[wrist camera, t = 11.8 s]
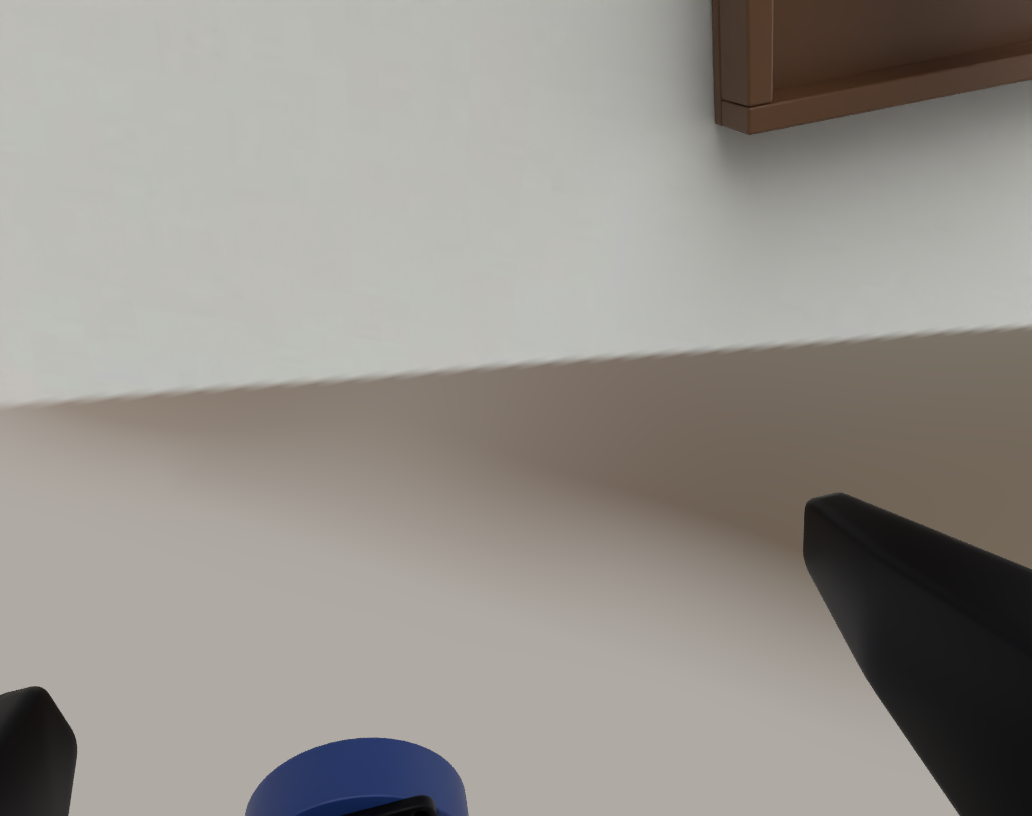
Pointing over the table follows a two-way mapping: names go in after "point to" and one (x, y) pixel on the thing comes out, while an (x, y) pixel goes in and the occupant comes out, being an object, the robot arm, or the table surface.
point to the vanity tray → (859, 55)
